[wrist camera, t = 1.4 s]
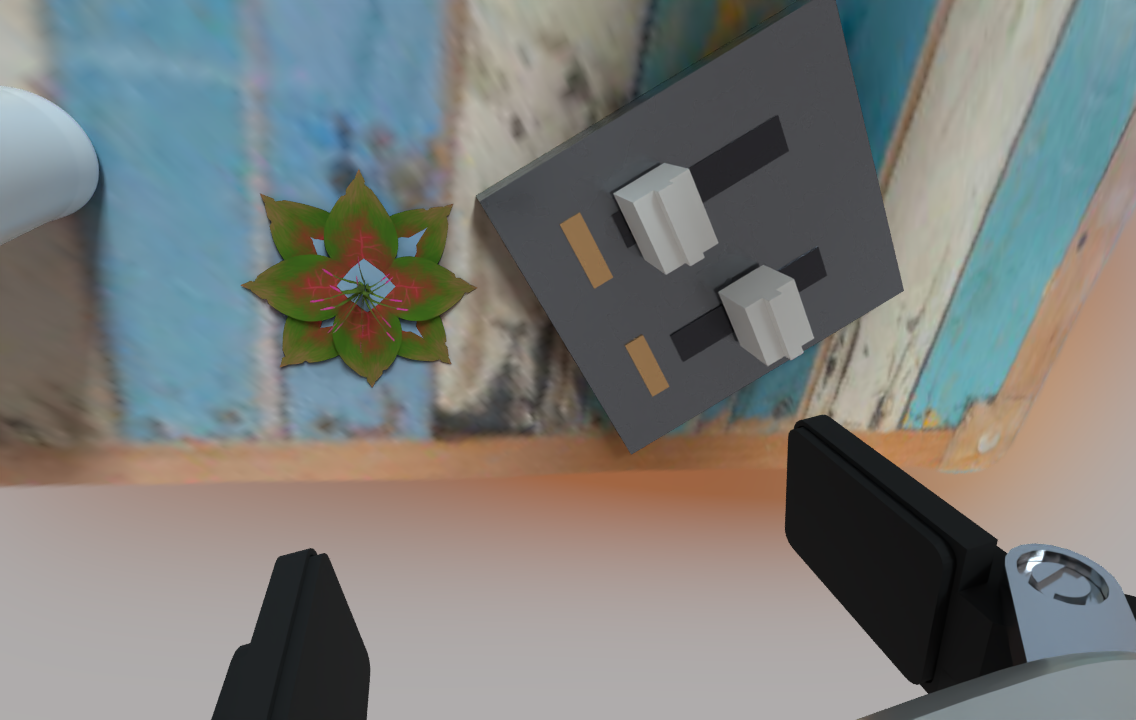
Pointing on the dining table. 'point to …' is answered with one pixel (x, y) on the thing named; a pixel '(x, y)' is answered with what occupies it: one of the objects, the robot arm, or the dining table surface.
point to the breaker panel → (734, 207)
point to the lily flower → (349, 237)
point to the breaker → (667, 217)
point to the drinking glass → (41, 163)
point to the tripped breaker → (767, 315)
